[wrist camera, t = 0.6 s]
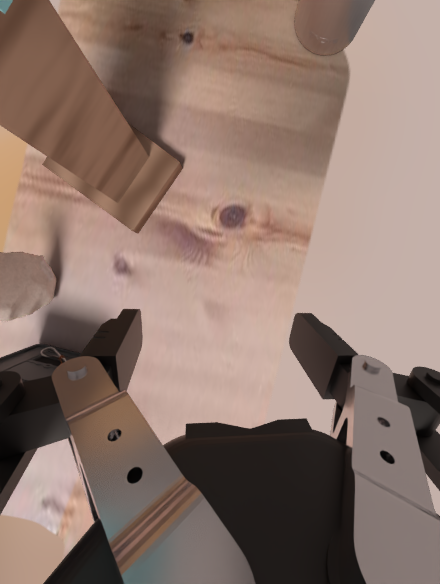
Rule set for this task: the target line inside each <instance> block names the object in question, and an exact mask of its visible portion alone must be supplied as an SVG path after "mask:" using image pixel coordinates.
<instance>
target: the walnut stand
mask: <svg viewBox="0 0 440 584" xmlns="http://www.w3.org/2000/svg"><path fill="white" fill-rule="evenodd" d="M0 125H1V126H2V127H4V128H5V129H7V130H8V131H10V132H11V133H13V134H15V135H16V136H17V137H19V138H21V139H22V140H23V141H25V142H26V143H28V144H29V145H31V146H32V147H34V148H36V149H37V150H39V151H40V152H42V153H43V154H45V155H46V156H47V158H46V160H45V161H44V163H43V164H42V165H43V166H45V167H46V168H48V169H49V170H50V171H52V172H53V173H54V174H56V175H57V176H58V177H60V178H61V179H63V180H64V181H65V182H67V183H68V184H69V185H71V186H72V187H73V188H75V189H76V190H78V191H79V192H80V193H82V194H83V195H84V196H86V197H87V198H88V199H90V200H91V201H92V202H94V203H95V204H97V205H98V206H99V207H101V208H102V209H103V210H105V211H106V212H107V213H109V214H110V215H112V216H113V217H114V218H116V219H117V220H118V221H120V222H121V223H122V224H124V225H125V226H127V227H128V228H129V229H131V230H132V231H134V232H136V233H139V231H140V230H141V228H142V227H143V226H144V224H145V223H146V221H147V220H148V218H149V217H150V215H151V214H152V212H153V211H154V210H155V208H156V207H157V205H158V204H159V202H160V201H161V199H162V198H163V196H164V195H165V193H166V192H167V191H168V189H169V188H170V186H171V185H172V183H173V182H174V180H175V179H176V177H177V176H178V175H179V173H180V172H181V170H182V166H181V164H180V162H179V161H178V160H176V159H175V158H174V157H172V156H171V155H170V154H168V153H167V152H166V151H164V150H163V149H162V148H161V147H159V146H158V145H157V144H155V143H154V142H153V141H151V140H150V139H149V138H147V137H146V136H145V135H143V134H142V133H141V132H139V131H138V130H137V129H135V128H134V127H133V126H131V125H130V124H129V123H127V121H126V120H125V118H124V117H123V115H122V114H121V112H120V110H119V109H118V107H117V106H116V104H115V103H114V101H113V99H112V98H111V96H110V95H109V93H108V92H107V90H106V89H105V87H104V85H103V84H102V82H101V81H100V79H99V78H98V76H97V74H96V73H95V71H94V70H93V68H92V67H91V65H90V64H89V62H88V60H87V59H86V57H85V56H84V54H83V53H82V51H81V49H80V48H79V46H78V45H77V43H76V42H75V40H74V38H73V37H72V35H71V34H70V32H69V31H68V29H67V28H66V26H65V24H64V23H63V21H62V20H61V18H60V17H59V15H58V13H57V12H56V10H55V9H54V7H53V6H52V4H51V3H50V1H49V0H13V1H12V3H11V5H10V6H9V8H8V10H7V12H6V13H5V14H4V13H3V12H2V11H0Z"/></svg>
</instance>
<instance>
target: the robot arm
mask: <svg viewBox="0 0 440 584" xmlns="http://www.w3.org/2000/svg"><path fill="white" fill-rule="evenodd" d="M374 1H375V0H299V2H298V5H297V9H296V13H295V20H294V23H295V31H296V34H297V37H298V38H299V40H300V42H301V43H302V44H303V46H304V47H305V48H307V49H308V50H309V51H311V52H313V53H315V54H319V55H331V54H335V53H338V52H340V51H341V50H343V49H344V48H346V47H347V46H348V45H349V44H350V43H351V41H352V40H353V38H354V37H355V35H356V33H357V32H358V30H359V28H360V26H361V24H362V23H363V21H364V19H365V17H366V15H367V13H368V12H369V10H370V8H371V6H372V5H373V3H374ZM289 344H290V348H291V350H292V352H293V353H294V355H295V356H296V358H297V360H298V361H299V363H300V364H301V366H302V367H303V369H304V370H305V372H306V373H307V375H308V377H309V378H310V380H311V381H312V383H313V384H314V386H315V388H316V389H317V390H318V392H319V394H320V396H321V397H322V398H323V399H335V400H336V403H335V406H334V410H333V417H332V425H331V431H330V436H329V435H327V434H325V433H322V432H319V431H316V430H312V429H311V427H310V425H309V423H308V421H307V419H285V420H277V421H273V422H270V423H267V424H264V425H261V426H258V427H255V428H251V429H248V428H243V427H238V426H233V425H228V424H223V423H218V422H215V423H192V424H186V435H183V436H180V437H178V438H175V439H173V440H171V441H170V442H168V443H166V444H165V445H162V443H161V442H160V440H159V439H158V437H157V436H156V434H155V433H154V431H153V430H152V429H151V427H150V426H149V424H148V423H147V421H146V420H145V418H144V417H143V415H142V414H141V412H140V411H139V409H138V408H137V406H136V405H135V403H134V402H133V400H132V399H131V397H130V396H129V394H128V393H127V392H126V391H127V388H128V385H129V382H130V379H131V376H132V374H133V371H134V368H135V365H136V362H137V359H138V356H139V353H140V351H141V347H142V322H141V311H140V309H123V310H122V312H121V313H120V315H119V316H118V318H117V319H110V320H108V321H107V322H105V323H104V324H102V325H101V327H100V328H99V330H98V331H97V333H96V334H95V335H94V337H93V338H92V339H91V341H90V342H89V344H88V345H87V346H86V348H85V349H84V350H83V352H82V353H81V355H80V356H79V357H76V358H73V359H70V360H68V361H66V362H64V363H62V364H61V365H59V366H58V367H57V368H56V369H55V370H54V372H53V374H52V375H51V376H48V377H43V378H39V379H34V380H29V381H25V382H22V379H21V376H20V375H19V373H17V372H14V371H1V372H0V514H1V513H2V511H3V509H4V507H5V505H6V504H7V502H8V500H9V498H10V496H11V495H12V493H13V491H14V489H15V488H16V486H17V484H18V482H19V480H20V479H21V477H22V475H23V473H24V471H25V470H26V468H27V466H28V464H29V463H30V461H31V459H32V457H33V455H34V454H35V452H36V450H37V448H39V447H42V446H45V445H48V444H51V443H54V442H57V441H60V440H63V439H67V438H68V441H69V444H70V447H71V450H72V453H73V456H74V460H75V463H76V466H77V469H78V472H79V475H80V478H81V481H82V485H83V488H84V491H85V495H86V498H87V502H88V505H89V508H90V512H91V515H92V518H93V521H94V524H93V525H92V526H91V527H90V528H89V530H88V531H87V532H86V533H85V534H84V536H83V537H82V538H81V539H80V540H79V542H78V543H77V544H76V545H75V546H74V548H73V549H72V550H71V551H70V552H69V554H68V555H67V556H66V557H65V558H64V560H63V561H62V562H61V563H60V564H59V565H58V567H57V568H56V569H55V570H54V571H53V573H52V574H51V575H50V576H49V577H48V579H47V580H46V581H45V582H44V583H43V584H440V516H439V515H438V514H436V512H435V510H434V506H433V503H432V499H431V494H430V490H429V486H428V482H427V478H426V474H427V475H428V477H429V478H430V479H431V480H432V482H433V483H434V484H435V485H436V487H437V488H438V489H439V491H440V434H439V433H438V432H436V428H437V427H438V425H439V424H440V372H437V371H435V370H432V369H429V368H425V367H415V368H413V370H412V372H411V373H410V375H409V376H405V375H400V374H396V373H392V371H391V370H390V368H389V367H388V366H387V365H385V364H384V363H382V362H381V361H379V360H377V359H375V358H372V357H369V356H364V355H358V354H357V353H356V352H355V351H354V350H353V349H352V348H351V347H350V346H349V345H348V344H347V343H346V342H345V341H344V340H342V338H341V337H339V335H337V334H336V333H335V332H334V331H333V330H332V329H331V328H330V327H328V326H327V325H325V324H323V323H321V322H320V321H319V320H318V319H317V318H316V317H315V316H314V315H313V314H312V313H297V314H296V315H295V317H294V322H293V325H292V330H291V334H290V338H289Z"/></svg>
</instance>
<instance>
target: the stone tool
mask: <svg viewBox="0 0 440 584" xmlns="http://www.w3.org/2000/svg"><path fill="white" fill-rule="evenodd" d="M56 281H57V280H56V277H55V275H54V274H53V272H52V268H51V267H50V266H49V265H48V264H47V262H46V261H45V259H44V257H43V256H38V255H34V254H28V253H24V252H11V253H2V252H0V321H3V322H7V321H11V320H13V319H15V318H22V317H24V316H26V315H30V314H33V312H34V311H36V310H38V309H40V308H41V307H43V306H45V305H48V304H49V303H50V302H51V301H52V299H53V298H54V291H55V286H56Z"/></svg>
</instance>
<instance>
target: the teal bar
mask: <svg viewBox="0 0 440 584" xmlns="http://www.w3.org/2000/svg"><path fill="white" fill-rule="evenodd" d="M12 1H13V0H0V11H2V12H3V13H4V14H5V13H6V12H7V10H8V8H9V6H10V5H11V3H12Z"/></svg>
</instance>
